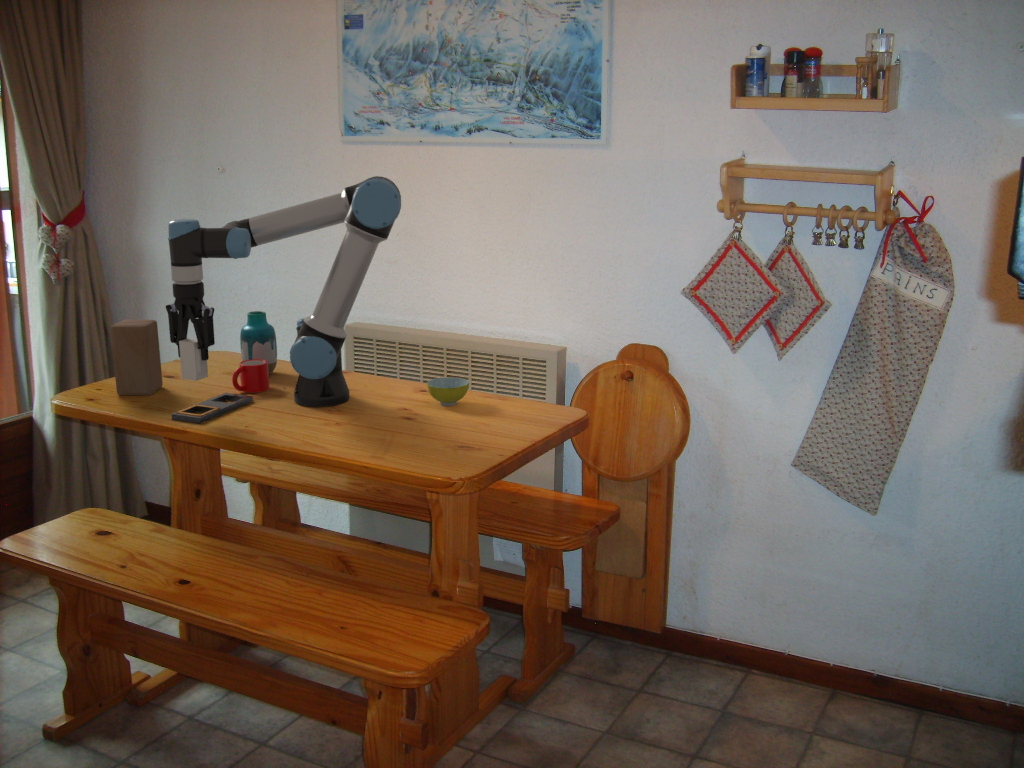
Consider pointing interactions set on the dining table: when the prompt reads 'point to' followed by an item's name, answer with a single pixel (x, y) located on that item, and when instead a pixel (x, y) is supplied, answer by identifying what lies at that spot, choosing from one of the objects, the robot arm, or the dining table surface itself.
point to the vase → (258, 340)
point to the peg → (190, 360)
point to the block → (136, 357)
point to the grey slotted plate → (212, 408)
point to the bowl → (448, 390)
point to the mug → (252, 376)
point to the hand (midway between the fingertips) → (194, 371)
